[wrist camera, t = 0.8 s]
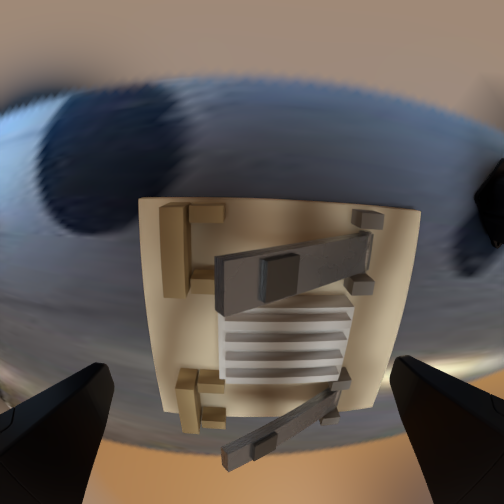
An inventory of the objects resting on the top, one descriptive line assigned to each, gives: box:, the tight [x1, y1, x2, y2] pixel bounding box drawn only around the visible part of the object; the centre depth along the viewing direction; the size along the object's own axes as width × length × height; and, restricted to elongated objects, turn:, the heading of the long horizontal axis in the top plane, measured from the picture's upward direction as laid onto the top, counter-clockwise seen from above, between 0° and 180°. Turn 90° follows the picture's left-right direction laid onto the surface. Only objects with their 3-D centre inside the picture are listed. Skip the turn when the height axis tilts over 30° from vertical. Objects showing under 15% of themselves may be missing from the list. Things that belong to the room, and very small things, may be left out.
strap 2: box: [221, 387, 342, 472], centre depth 19 cm, size 12×3×1 cm
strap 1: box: [214, 230, 374, 317], centre depth 16 cm, size 12×3×1 cm
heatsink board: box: [139, 197, 421, 434], centre depth 20 cm, size 20×19×4 cm
